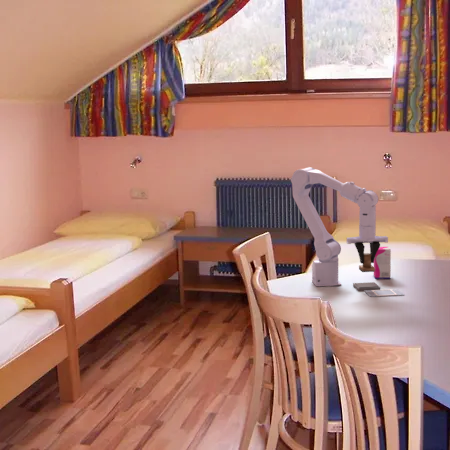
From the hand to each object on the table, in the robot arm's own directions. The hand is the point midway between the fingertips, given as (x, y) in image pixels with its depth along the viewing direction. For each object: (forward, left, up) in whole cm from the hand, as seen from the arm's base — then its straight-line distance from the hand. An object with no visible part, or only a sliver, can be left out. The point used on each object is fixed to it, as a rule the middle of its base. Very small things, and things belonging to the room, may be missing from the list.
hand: (366, 262), depth 247 cm
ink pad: (0, 0, -9) cm, 9 cm away
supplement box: (+10, +14, -10) cm, 20 cm away
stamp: (0, 0, -3) cm, 3 cm away
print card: (+4, -8, -9) cm, 13 cm away
